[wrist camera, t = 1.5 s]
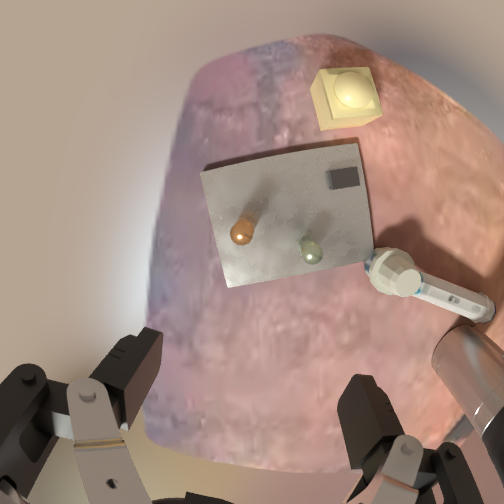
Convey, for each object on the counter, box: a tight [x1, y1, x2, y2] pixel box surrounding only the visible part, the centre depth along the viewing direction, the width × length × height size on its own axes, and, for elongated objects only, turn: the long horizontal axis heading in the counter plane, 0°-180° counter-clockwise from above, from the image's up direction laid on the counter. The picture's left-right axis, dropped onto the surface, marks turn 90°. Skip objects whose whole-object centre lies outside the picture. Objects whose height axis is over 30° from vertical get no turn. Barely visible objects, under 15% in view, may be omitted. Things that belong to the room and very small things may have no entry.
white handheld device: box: [364, 246, 496, 324], centre depth 28 cm, size 5×7×25 cm
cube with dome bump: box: [310, 67, 383, 130], centre depth 23 cm, size 5×5×7 cm
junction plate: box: [200, 143, 374, 288], centre depth 26 cm, size 17×13×6 cm
